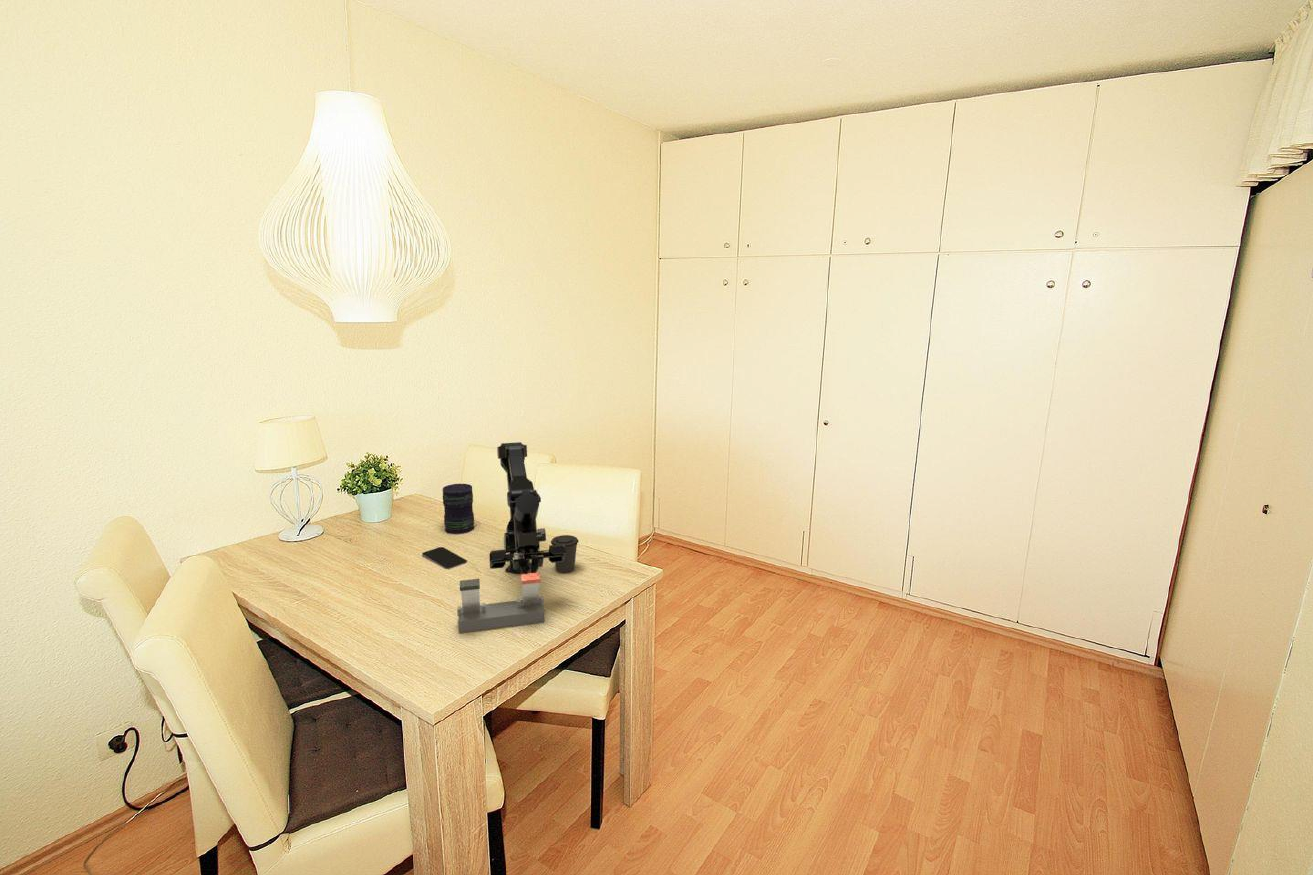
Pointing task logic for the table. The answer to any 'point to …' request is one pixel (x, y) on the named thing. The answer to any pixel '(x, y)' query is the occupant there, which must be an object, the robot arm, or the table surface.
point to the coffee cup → (570, 547)
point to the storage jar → (458, 508)
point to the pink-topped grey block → (530, 589)
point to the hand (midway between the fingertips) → (530, 589)
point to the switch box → (500, 616)
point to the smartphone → (444, 558)
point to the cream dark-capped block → (470, 595)
